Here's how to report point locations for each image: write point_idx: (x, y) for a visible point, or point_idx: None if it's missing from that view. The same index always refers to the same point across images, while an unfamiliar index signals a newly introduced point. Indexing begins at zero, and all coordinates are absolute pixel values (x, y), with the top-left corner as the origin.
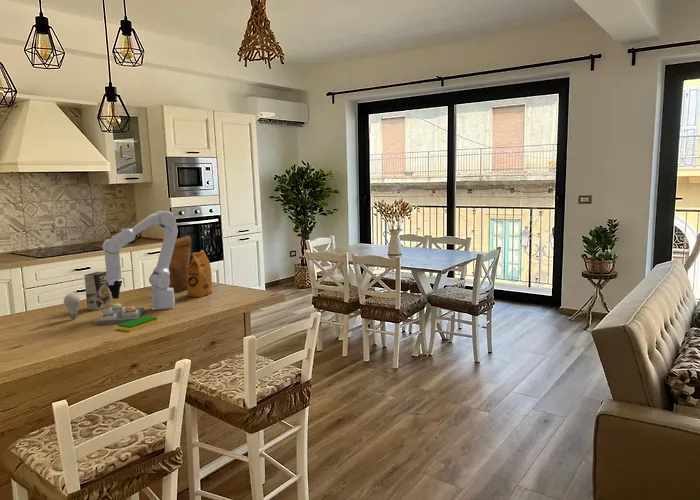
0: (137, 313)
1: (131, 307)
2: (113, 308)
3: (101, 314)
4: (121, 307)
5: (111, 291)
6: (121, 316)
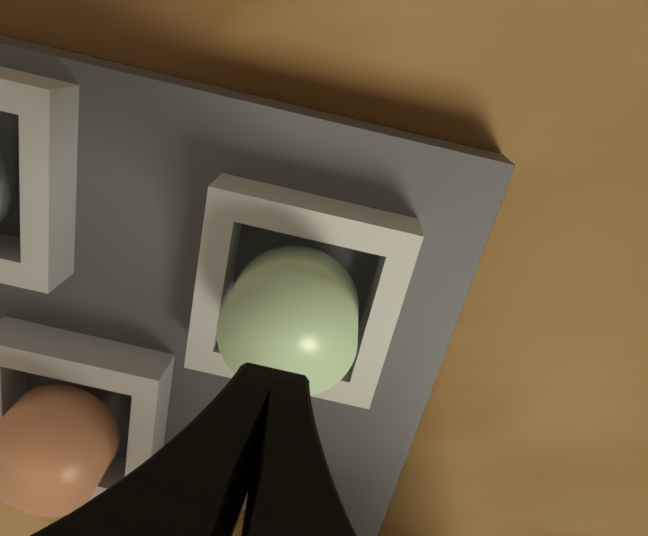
0: None
1: (9, 483)
2: (245, 271)
3: (8, 80)
4: (353, 363)
5: (153, 476)
6: (38, 313)
